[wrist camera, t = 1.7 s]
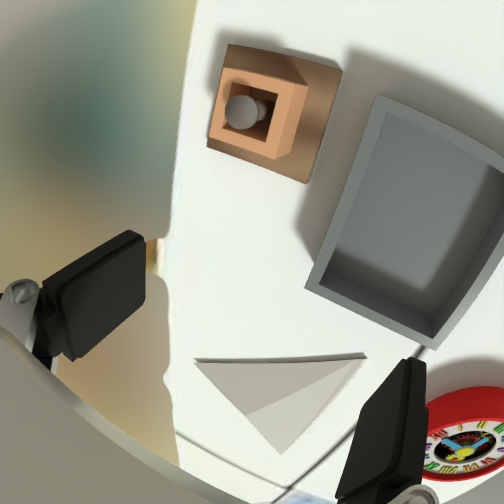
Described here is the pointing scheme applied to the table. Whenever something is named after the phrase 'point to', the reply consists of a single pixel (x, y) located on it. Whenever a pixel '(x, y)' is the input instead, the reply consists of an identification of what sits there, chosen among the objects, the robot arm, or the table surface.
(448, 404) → the toy clock
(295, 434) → the paper plane
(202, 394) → the table surface
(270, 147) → the ring
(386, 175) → the tray
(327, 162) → the table surface
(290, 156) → the stake base
